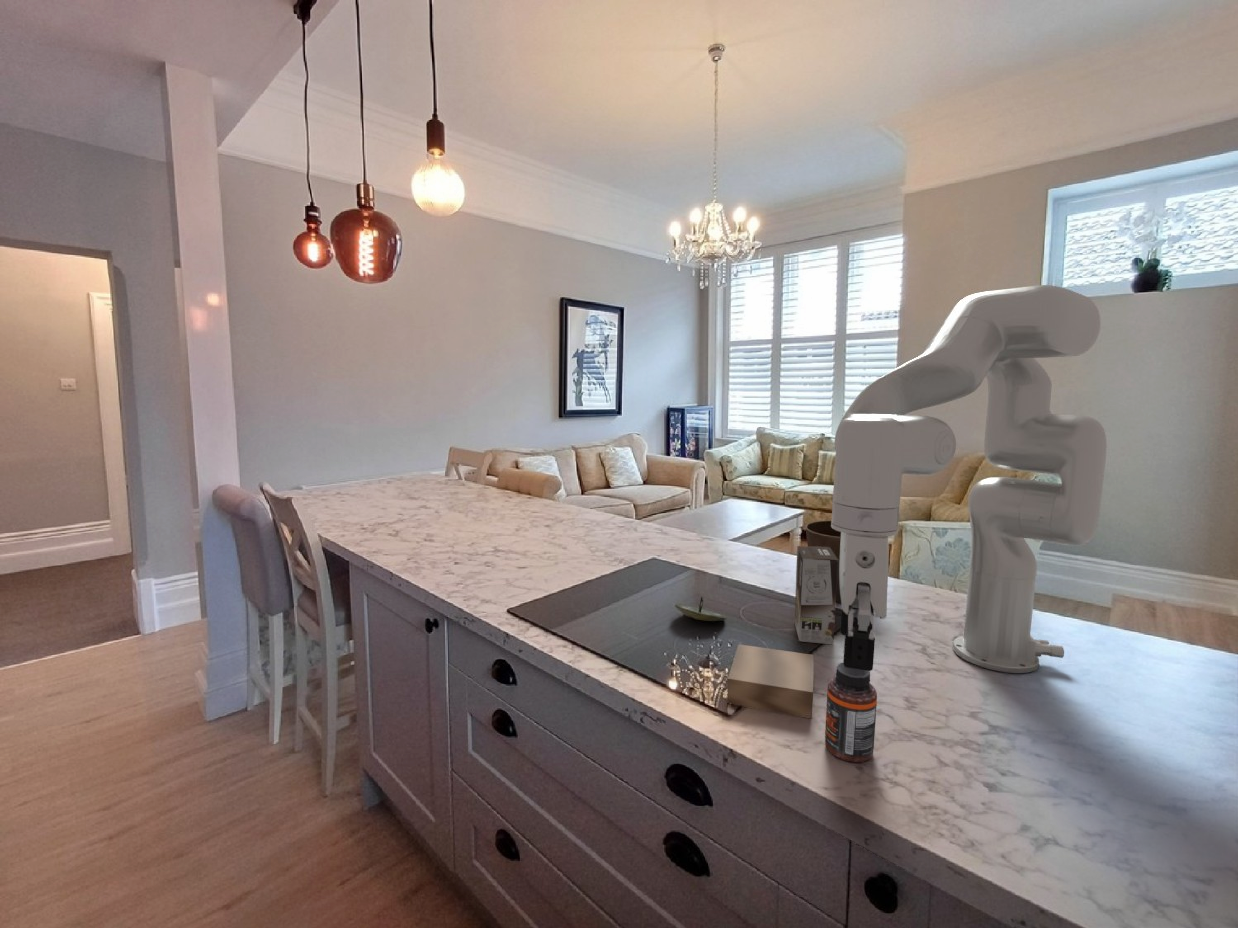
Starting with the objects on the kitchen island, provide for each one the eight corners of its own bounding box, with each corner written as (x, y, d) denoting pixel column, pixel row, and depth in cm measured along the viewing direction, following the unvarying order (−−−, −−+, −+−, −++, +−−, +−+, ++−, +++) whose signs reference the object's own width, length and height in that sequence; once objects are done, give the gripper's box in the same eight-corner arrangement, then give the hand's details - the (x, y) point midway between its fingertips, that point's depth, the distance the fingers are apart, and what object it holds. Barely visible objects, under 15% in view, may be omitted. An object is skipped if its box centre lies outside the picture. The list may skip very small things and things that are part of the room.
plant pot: (853, 616, 117) (857, 541, 115) (789, 597, 128) (792, 527, 126) (886, 599, 127) (890, 529, 125) (824, 581, 138) (827, 517, 136)
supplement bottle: (816, 737, 77) (820, 658, 76) (859, 734, 78) (863, 656, 76) (837, 766, 71) (841, 681, 70) (882, 763, 72) (888, 679, 70)
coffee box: (835, 645, 105) (839, 559, 102) (798, 642, 106) (801, 557, 104) (827, 624, 113) (831, 546, 111) (793, 622, 115) (796, 544, 113)
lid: (664, 622, 115) (664, 598, 114) (691, 607, 123) (691, 585, 122) (710, 637, 108) (710, 611, 108) (735, 620, 116) (736, 596, 115)
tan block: (812, 678, 93) (813, 654, 92) (811, 718, 82) (812, 692, 81) (737, 666, 97) (738, 644, 96) (727, 703, 85) (727, 678, 85)
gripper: (908, 537, 61) (896, 689, 63) (889, 507, 77) (880, 629, 79) (833, 530, 63) (824, 677, 65) (830, 503, 79) (823, 621, 81)
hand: (855, 650), depth 72 cm, fingers open, 9 cm apart
